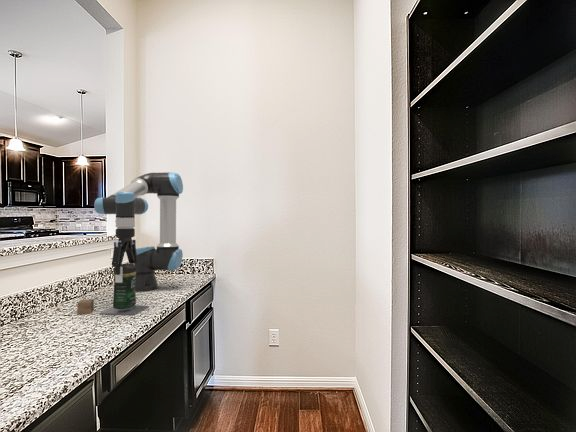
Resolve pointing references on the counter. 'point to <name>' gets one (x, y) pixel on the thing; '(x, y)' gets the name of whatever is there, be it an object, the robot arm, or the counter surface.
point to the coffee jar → (125, 288)
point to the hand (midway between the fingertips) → (125, 280)
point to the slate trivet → (125, 311)
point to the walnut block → (85, 306)
